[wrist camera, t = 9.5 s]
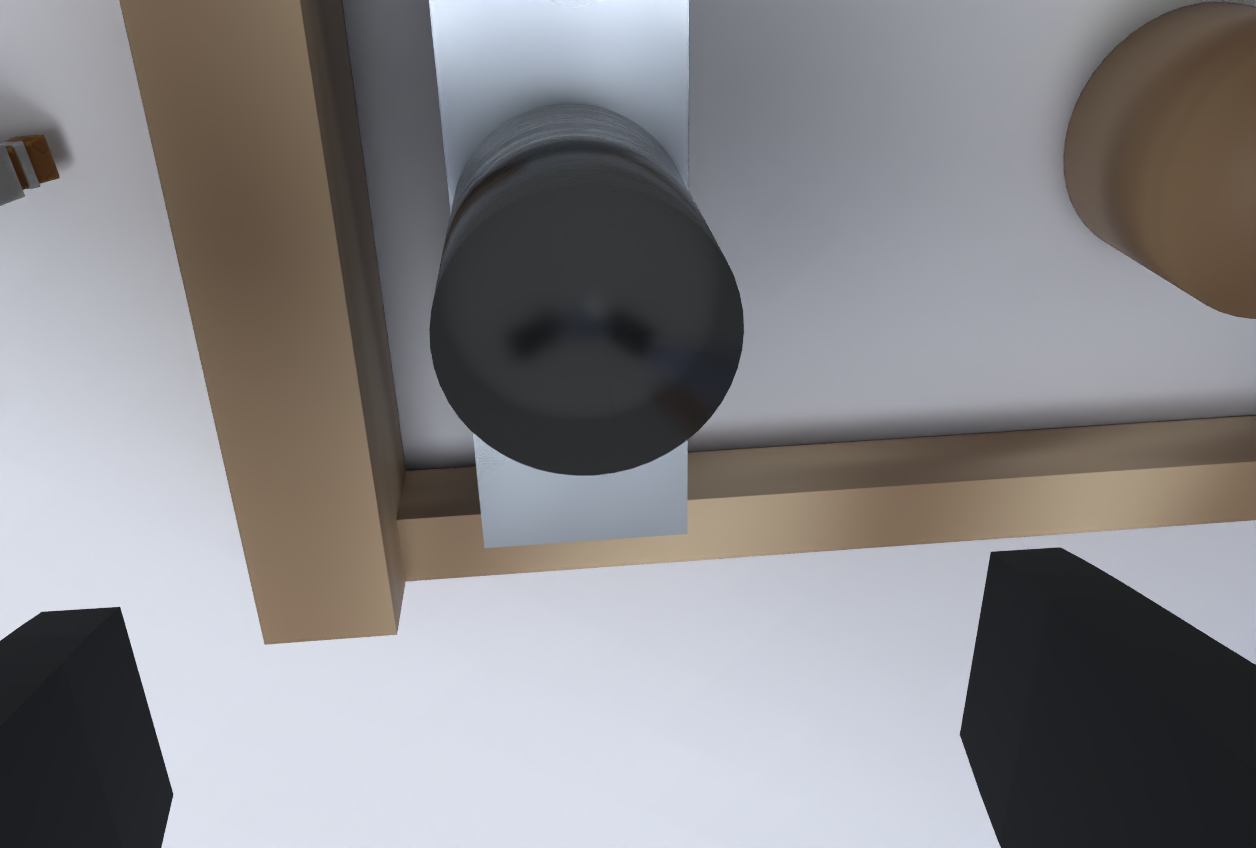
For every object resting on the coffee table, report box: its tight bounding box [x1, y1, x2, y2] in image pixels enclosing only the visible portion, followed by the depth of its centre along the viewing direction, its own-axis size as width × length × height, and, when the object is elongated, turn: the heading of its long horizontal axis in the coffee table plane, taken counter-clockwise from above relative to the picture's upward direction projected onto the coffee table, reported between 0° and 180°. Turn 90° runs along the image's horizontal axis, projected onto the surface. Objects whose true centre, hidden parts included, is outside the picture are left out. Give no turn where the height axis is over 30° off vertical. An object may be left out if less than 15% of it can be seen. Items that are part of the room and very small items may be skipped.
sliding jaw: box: [429, 0, 744, 548], centre depth 13 cm, size 3×10×7 cm, turn 1°
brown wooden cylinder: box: [1063, 2, 1256, 319], centre depth 16 cm, size 4×4×3 cm
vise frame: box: [119, 0, 1256, 644], centre depth 15 cm, size 21×13×3 cm, turn 91°
